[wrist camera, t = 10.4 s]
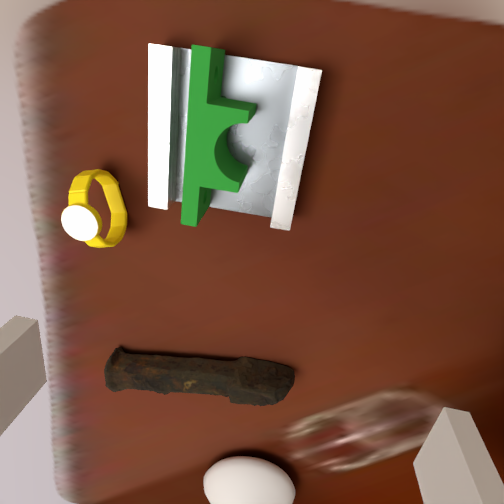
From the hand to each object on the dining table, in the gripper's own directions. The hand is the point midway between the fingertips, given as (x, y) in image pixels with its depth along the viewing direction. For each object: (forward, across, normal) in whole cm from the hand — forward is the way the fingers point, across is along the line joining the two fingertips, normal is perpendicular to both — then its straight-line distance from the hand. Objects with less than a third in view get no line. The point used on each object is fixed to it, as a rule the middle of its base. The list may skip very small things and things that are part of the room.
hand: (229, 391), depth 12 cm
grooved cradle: (+20, +4, -4) cm, 21 cm away
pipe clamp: (+19, +5, -4) cm, 20 cm away
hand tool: (+21, +5, +19) cm, 28 cm away
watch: (+20, +14, +2) cm, 24 cm away
